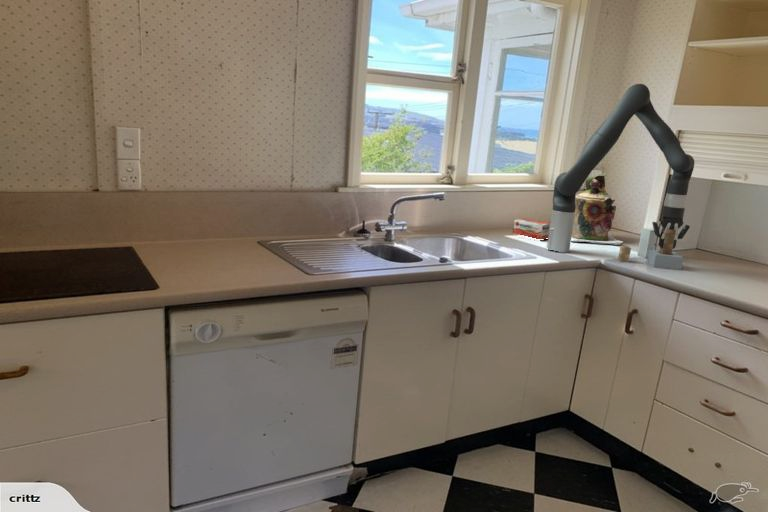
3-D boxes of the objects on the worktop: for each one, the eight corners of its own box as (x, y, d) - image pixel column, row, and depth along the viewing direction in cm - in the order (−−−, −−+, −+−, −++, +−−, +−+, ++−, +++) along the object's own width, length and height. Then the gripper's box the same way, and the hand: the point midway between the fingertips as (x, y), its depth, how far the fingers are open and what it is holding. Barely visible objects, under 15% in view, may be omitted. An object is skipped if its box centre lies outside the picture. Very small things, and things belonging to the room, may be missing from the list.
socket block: (653, 267, 216) (655, 254, 215) (646, 261, 226) (648, 249, 225) (680, 269, 214) (682, 257, 213) (672, 263, 224) (674, 251, 223)
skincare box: (646, 258, 231) (651, 230, 229) (636, 255, 235) (641, 228, 232) (654, 256, 235) (659, 229, 232) (644, 254, 238) (649, 227, 236)
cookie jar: (556, 232, 277) (565, 169, 270) (605, 235, 277) (615, 172, 269) (571, 243, 253) (581, 173, 246) (624, 246, 253) (636, 177, 245)
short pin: (619, 261, 222) (622, 247, 221) (618, 259, 226) (620, 245, 224) (628, 262, 222) (631, 248, 220) (626, 260, 225) (629, 246, 224)
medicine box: (511, 235, 262) (513, 219, 260) (520, 234, 268) (522, 218, 266) (540, 241, 252) (542, 224, 250) (548, 240, 258) (551, 223, 256)
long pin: (661, 258, 218) (666, 229, 215) (658, 256, 221) (664, 227, 218) (670, 259, 218) (676, 229, 215) (667, 257, 221) (673, 228, 218)
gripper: (658, 205, 212) (650, 248, 216) (697, 208, 210) (688, 252, 214) (652, 202, 219) (645, 244, 223) (690, 205, 217) (682, 247, 221)
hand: (666, 247), depth 218 cm, fingers closed on long pin, 3 cm apart
